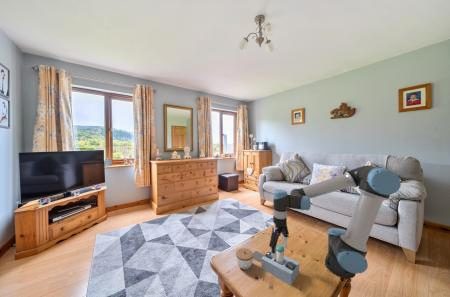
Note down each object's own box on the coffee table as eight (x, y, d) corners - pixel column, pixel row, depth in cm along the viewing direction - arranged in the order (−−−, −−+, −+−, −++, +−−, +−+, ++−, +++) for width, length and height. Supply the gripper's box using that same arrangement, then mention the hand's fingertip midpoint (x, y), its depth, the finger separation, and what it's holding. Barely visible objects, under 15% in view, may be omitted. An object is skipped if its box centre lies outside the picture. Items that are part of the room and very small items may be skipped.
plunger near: (294, 271, 92) (294, 263, 92) (292, 274, 90) (292, 266, 90) (289, 268, 94) (289, 260, 94) (287, 271, 92) (287, 263, 92)
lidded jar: (247, 275, 93) (247, 258, 93) (232, 266, 100) (232, 251, 100) (256, 264, 102) (256, 249, 101) (242, 257, 109) (242, 243, 108)
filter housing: (271, 258, 107) (271, 249, 107) (299, 273, 95) (299, 262, 95) (261, 268, 99) (261, 258, 99) (290, 285, 86) (291, 274, 86)
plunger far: (273, 260, 101) (273, 253, 101) (270, 262, 99) (270, 255, 99) (268, 257, 103) (269, 250, 103) (266, 260, 101) (266, 253, 101)
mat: (264, 256, 109) (264, 255, 109) (259, 261, 104) (259, 260, 104) (255, 251, 114) (255, 251, 114) (250, 256, 109) (250, 255, 109)
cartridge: (285, 266, 97) (285, 247, 97) (282, 270, 93) (282, 251, 93) (278, 262, 100) (278, 244, 100) (274, 266, 97) (274, 247, 97)
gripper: (283, 209, 108) (282, 241, 108) (263, 221, 90) (262, 259, 90) (294, 212, 103) (294, 245, 103) (275, 226, 85) (275, 266, 85)
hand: (279, 252), depth 97 cm, fingers open, 13 cm apart
